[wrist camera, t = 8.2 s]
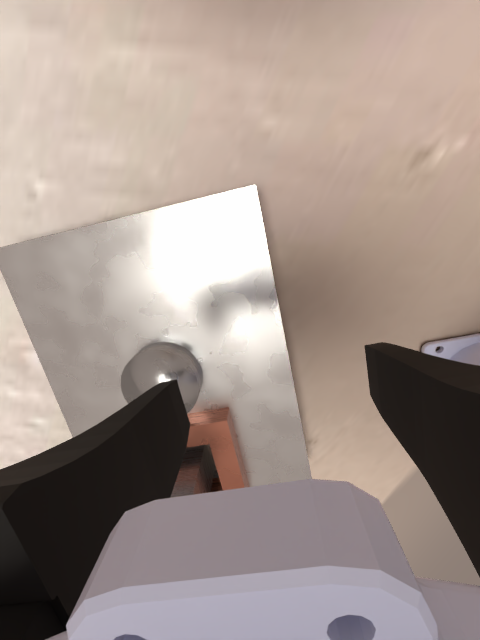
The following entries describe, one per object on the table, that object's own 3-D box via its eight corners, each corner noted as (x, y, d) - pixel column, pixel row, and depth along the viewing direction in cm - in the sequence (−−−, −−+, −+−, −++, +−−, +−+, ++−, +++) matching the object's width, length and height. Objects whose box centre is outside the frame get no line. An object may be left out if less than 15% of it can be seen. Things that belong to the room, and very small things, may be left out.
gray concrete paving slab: (255, 190, 19) (255, 179, 15) (316, 505, 25) (326, 554, 21) (23, 247, 20) (-32, 251, 17) (136, 528, 27) (116, 577, 23)
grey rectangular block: (210, 418, 23) (184, 528, 15) (218, 446, 24) (197, 566, 16) (178, 424, 24) (134, 534, 15) (187, 451, 24) (149, 572, 16)
